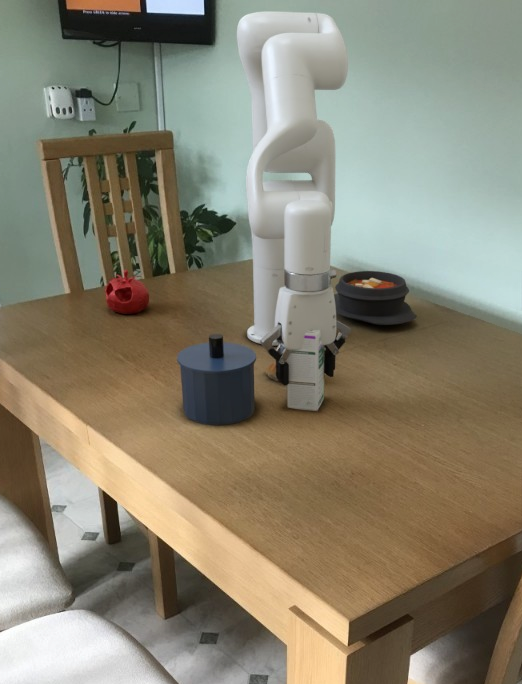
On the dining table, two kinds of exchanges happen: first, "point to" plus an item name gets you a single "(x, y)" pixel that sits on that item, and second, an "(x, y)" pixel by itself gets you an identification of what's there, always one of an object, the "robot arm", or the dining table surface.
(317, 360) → the syrup box
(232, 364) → the lid
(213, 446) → the dining table surface
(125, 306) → the pomegranate
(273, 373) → the pastry
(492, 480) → the dining table surface
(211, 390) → the pot
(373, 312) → the casserole
